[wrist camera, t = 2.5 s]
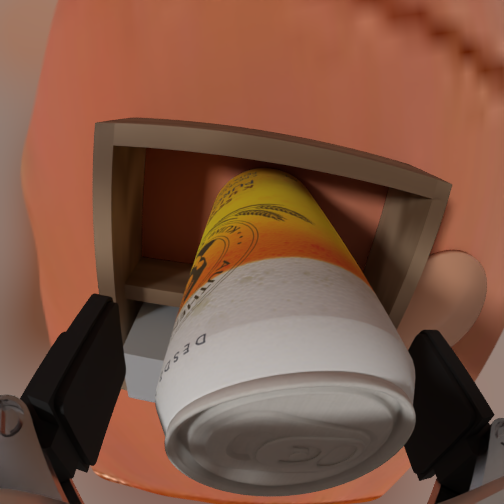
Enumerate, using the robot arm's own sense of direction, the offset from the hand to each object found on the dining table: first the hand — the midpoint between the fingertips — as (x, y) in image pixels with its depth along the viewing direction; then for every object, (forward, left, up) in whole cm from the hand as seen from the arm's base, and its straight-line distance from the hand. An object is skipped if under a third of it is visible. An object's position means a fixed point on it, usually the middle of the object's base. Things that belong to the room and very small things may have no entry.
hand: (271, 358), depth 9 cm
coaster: (+5, +16, -11) cm, 20 cm away
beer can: (-1, 0, -12) cm, 12 cm away
